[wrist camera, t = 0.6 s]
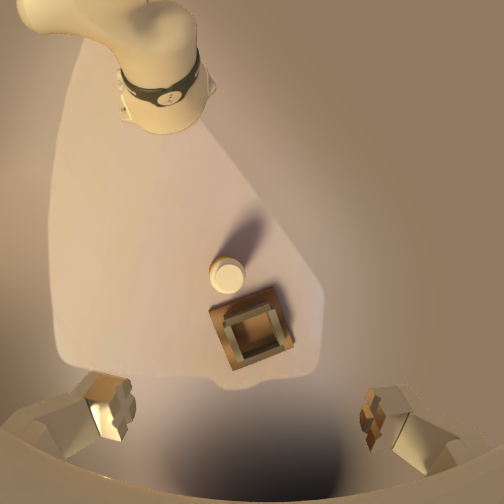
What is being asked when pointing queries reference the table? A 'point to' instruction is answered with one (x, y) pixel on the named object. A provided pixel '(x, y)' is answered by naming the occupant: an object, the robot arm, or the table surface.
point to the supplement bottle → (226, 274)
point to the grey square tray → (251, 328)
